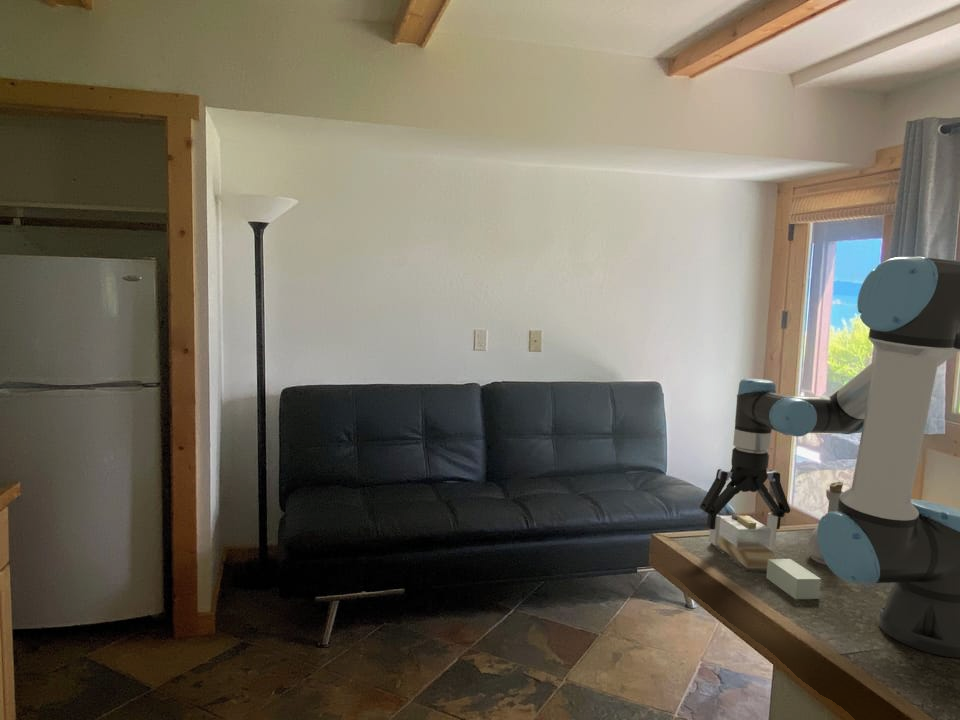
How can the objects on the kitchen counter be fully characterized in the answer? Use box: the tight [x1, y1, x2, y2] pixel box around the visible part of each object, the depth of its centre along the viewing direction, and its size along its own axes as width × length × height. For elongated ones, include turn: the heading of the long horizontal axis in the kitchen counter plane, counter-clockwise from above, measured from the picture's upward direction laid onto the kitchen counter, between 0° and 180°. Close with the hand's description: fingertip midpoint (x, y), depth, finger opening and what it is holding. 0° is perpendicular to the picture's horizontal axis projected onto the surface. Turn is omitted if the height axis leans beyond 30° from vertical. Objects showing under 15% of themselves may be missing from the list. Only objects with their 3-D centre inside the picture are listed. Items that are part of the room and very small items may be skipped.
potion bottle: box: [807, 481, 844, 566], centre depth 154 cm, size 9×9×18 cm
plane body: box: [710, 535, 776, 573], centre depth 153 cm, size 16×6×4 cm, turn 9°
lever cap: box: [719, 513, 771, 548], centre depth 153 cm, size 9×8×5 cm
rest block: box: [765, 558, 822, 600], centre depth 138 cm, size 10×5×4 cm, turn 9°
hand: (741, 543), depth 153 cm, fingers open, 13 cm apart
